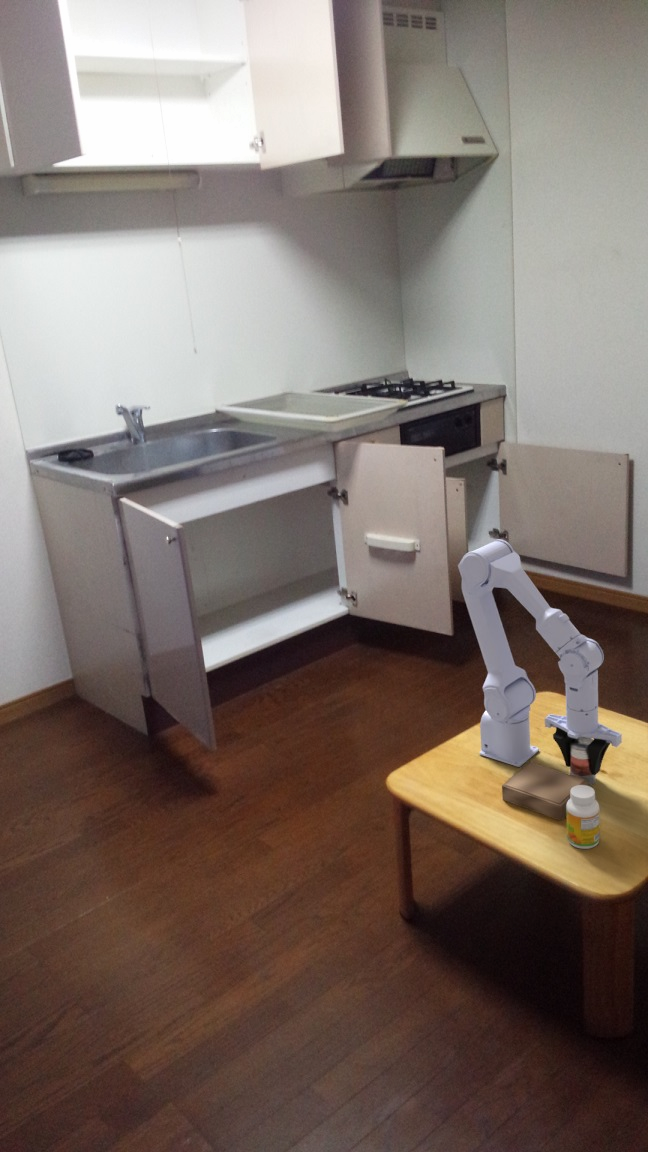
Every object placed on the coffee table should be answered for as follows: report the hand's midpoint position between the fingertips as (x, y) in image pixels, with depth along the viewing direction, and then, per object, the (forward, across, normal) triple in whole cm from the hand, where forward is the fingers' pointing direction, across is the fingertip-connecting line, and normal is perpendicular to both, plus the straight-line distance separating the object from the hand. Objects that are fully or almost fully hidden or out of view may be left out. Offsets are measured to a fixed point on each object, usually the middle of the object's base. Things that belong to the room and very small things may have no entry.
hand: (582, 768), depth 170 cm
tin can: (+2, 0, 0) cm, 2 cm away
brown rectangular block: (+2, -3, -9) cm, 10 cm away
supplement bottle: (+3, +9, -17) cm, 19 cm away
